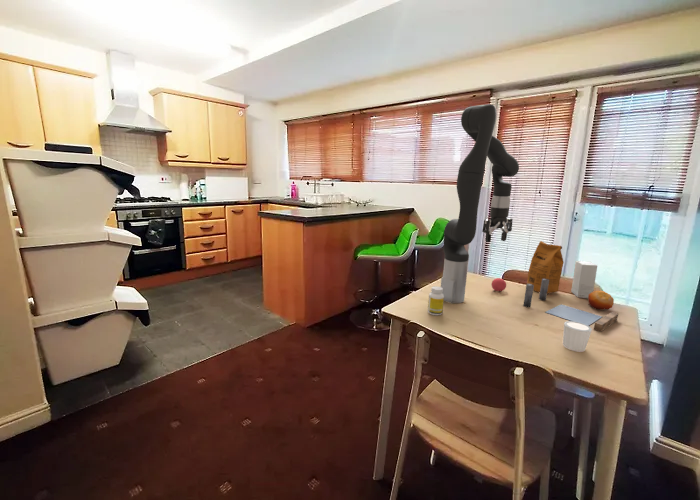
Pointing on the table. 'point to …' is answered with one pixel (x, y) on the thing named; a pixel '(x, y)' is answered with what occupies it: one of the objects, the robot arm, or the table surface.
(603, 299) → the fruit
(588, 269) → the skincare box
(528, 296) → the near post
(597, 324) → the wall
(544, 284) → the far post
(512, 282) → the table surface
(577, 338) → the white cup
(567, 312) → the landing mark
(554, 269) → the coffee package
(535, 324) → the table surface
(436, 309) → the supplement bottle
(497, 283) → the ball
